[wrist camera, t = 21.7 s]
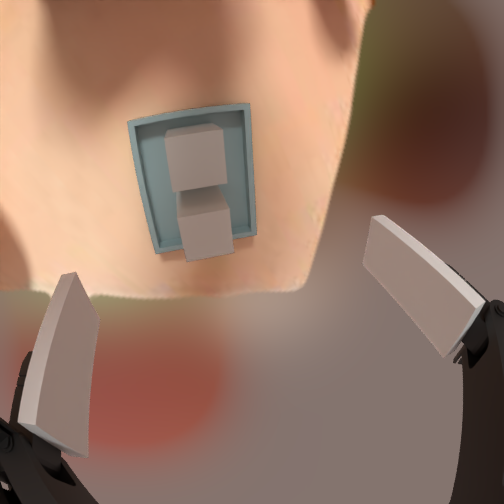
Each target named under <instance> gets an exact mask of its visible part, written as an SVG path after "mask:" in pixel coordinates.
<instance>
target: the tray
mask: <svg viewBox="0 0 504 504" xmlns="http://www.w3.org/2000/svg"><path fill="white" fill-rule="evenodd" d="M127 123H128V130H129V136H130V143H131V148H132V154H133V160H134V165H135V170H136V175H137V180H138V185H139V189H140V194H141V198H142V203H143V207H144V211H145V215H146V219H147V223H148V227H149V231H150V235H151V239H152V243H153V246H154V250H155V253H156V254H159V253H164V252H169V251H174V250H179V249H184V248H183V244H182V239H181V235H180V230H179V225H178V221H177V204H176V192H174V193H173V191H172V186H171V180H170V174H169V168H168V161H167V155H166V148H165V141H164V137H165V134H166V131H167V129H172V128H178V127H184V126H190V125H197V124H204V123H213V124H215V125H217V126H218V127H220V128H221V129H223V137H224V149H225V161H226V172H227V184H220V185H218V186H219V188H220V190H221V192H222V194H223V196H224V199H225V201H226V203H227V205H228V207H229V209H230V218H231V228H232V237H233V239H238V238H243V237H249V236H254V235H257V227H256V207H255V187H254V168H253V149H252V131H251V113H250V103H239V104H227V105H217V106H208V107H200V108H193V109H186V110H180V111H174V112H168V113H163V114H157V115H152V116H148V117H143V118H138V119H134V120H130V121H128V122H127Z"/></svg>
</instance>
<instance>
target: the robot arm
mask: <svg viewBox="0 0 504 504" xmlns="http://www.w3.org/2000/svg"><path fill="white" fill-rule="evenodd" d="M363 265H364V267H365V268H366V269H367V270H368V271H369V272H370V273H371V274H372V275H373V276H374V277H375V278H376V280H377V281H378V282H379V283H380V284H381V285H382V286H383V287H384V288H385V289H386V290H387V291H388V293H389V294H390V295H391V296H392V297H393V298H394V299H395V301H396V302H397V303H398V304H399V305H400V306H401V307H402V308H403V309H404V311H405V312H406V313H407V314H408V315H409V317H410V318H411V319H412V320H413V321H414V322H415V324H416V325H417V326H418V327H419V328H420V330H421V331H422V332H423V333H424V334H425V336H426V337H427V338H428V339H429V341H430V342H431V343H432V344H433V346H434V347H435V348H436V349H437V350H438V352H439V353H440V354H441V356H442V357H443V358H445V357H447V356H448V355H449V354H451V353H452V352H453V351H455V349H456V348H457V347H458V345H459V344H460V342H461V341H462V342H463V343H464V345H463V347H462V348H461V350H460V351H459V352H458V354H457V355H456V356H455V358H454V361H453V363H456V362H457V360H458V359H459V358H460V356H462V358H461V359H460V360H459V362H458V364H462V368H463V422H462V435H461V445H460V453H459V461H458V467H457V473H456V478H455V483H454V487H453V492H452V496H451V500H450V503H449V504H504V303H503V302H502V301H499V300H493V301H491V302H489V301H488V300H486V299H485V298H484V297H483V296H482V295H481V294H480V293H479V292H478V291H477V290H476V289H475V288H474V287H473V286H472V285H471V284H470V283H469V282H468V281H465V278H463V277H462V276H461V275H459V273H458V272H457V271H456V270H454V269H453V268H452V267H451V266H450V265H448V264H446V263H444V262H443V261H442V260H440V259H439V258H438V257H437V256H436V255H434V254H433V253H432V252H431V251H430V250H429V249H427V248H426V247H425V246H424V245H422V244H421V243H420V242H419V241H417V240H416V239H415V238H414V237H412V236H411V235H410V234H408V233H407V232H406V231H405V230H403V229H402V228H401V227H399V226H398V225H397V224H395V223H394V222H393V221H391V220H390V219H388V218H387V217H386V216H384V215H379V216H373V217H371V223H370V229H369V234H368V240H367V245H366V250H365V255H364V259H363ZM99 324H100V318H99V316H98V314H97V313H96V311H95V309H94V307H93V305H92V303H91V301H90V299H89V297H88V296H87V294H86V292H85V290H84V288H83V286H82V284H81V281H80V279H79V277H78V275H77V273H76V272H73V273H68V274H64V275H61V277H60V280H59V282H58V284H57V287H56V289H55V291H54V294H53V296H52V298H51V301H50V303H49V306H48V309H47V311H46V314H45V316H44V319H43V322H42V325H41V328H40V331H39V334H38V337H37V340H36V343H35V346H34V350H33V351H31V352H28V354H27V356H26V357H25V359H24V361H23V363H22V366H21V369H20V373H19V376H20V377H18V381H17V387H16V389H15V395H14V399H13V404H12V409H11V416H10V421H9V424H8V423H7V422H6V421H4V420H3V419H2V418H0V481H2V482H4V483H6V484H8V488H9V490H5V489H3V488H2V485H1V482H0V504H98V502H97V501H96V500H95V499H94V498H93V497H92V495H91V494H90V493H89V492H88V491H87V489H86V488H85V487H84V485H83V484H82V483H81V482H80V481H79V479H78V478H77V476H76V475H75V474H74V472H73V471H72V469H71V468H70V467H69V465H68V464H67V462H66V461H65V460H64V459H63V458H62V457H61V451H63V452H64V453H66V454H68V455H70V456H74V457H85V458H88V423H89V403H90V390H91V379H92V370H93V362H94V354H95V348H96V341H97V335H98V330H99Z"/></svg>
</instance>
